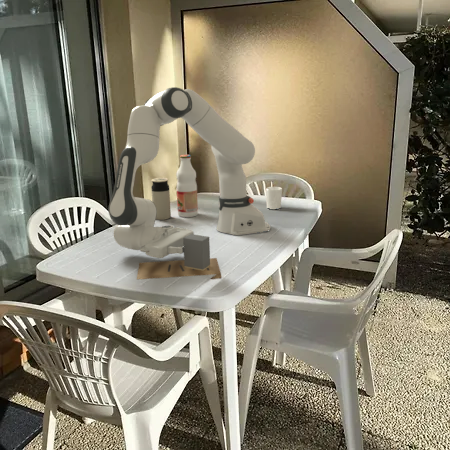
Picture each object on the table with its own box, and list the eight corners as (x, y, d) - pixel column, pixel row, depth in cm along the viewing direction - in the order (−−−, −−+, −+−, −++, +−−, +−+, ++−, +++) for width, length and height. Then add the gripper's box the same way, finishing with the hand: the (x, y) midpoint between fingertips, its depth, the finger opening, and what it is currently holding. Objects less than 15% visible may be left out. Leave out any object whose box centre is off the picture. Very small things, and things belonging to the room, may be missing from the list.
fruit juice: (194, 218, 211) (192, 157, 203) (175, 217, 213) (172, 156, 205) (200, 212, 220) (198, 153, 212) (181, 211, 222) (178, 153, 214)
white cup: (282, 210, 221) (282, 190, 218) (266, 210, 222) (266, 190, 219) (280, 206, 229) (281, 186, 226) (265, 206, 229) (265, 186, 226)
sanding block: (184, 267, 149) (183, 237, 147) (191, 262, 153) (190, 234, 150) (203, 270, 146) (202, 240, 143) (210, 265, 150) (209, 236, 147)
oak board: (216, 262, 158) (216, 257, 157) (221, 278, 144) (221, 273, 144) (139, 266, 155) (139, 262, 154) (137, 283, 141) (136, 279, 141)
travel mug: (169, 220, 209) (167, 181, 204) (152, 220, 209) (149, 181, 204) (171, 215, 216) (169, 177, 211) (155, 215, 217) (152, 177, 211)
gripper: (135, 240, 145) (172, 246, 139) (172, 223, 163) (206, 228, 156) (137, 259, 147) (173, 266, 141) (173, 240, 164) (206, 245, 158)
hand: (191, 246), depth 149 cm, fingers open, 8 cm apart
